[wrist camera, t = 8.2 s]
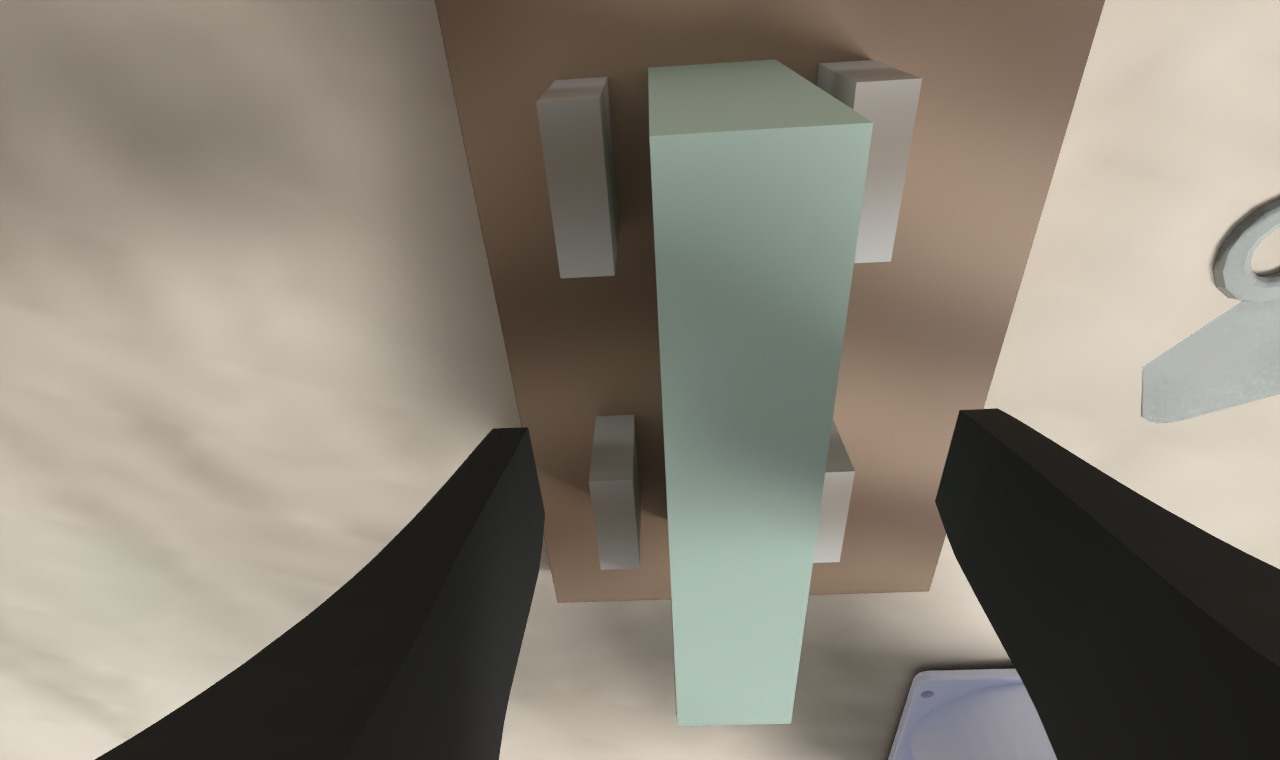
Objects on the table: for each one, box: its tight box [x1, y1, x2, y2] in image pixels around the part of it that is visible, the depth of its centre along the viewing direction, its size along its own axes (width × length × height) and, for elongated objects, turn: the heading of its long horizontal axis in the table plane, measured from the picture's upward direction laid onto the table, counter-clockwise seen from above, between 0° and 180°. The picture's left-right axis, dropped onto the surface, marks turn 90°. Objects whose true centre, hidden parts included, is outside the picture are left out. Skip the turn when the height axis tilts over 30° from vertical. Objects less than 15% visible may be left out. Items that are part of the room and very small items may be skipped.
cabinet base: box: [435, 0, 1105, 603], centre depth 14 cm, size 20×12×4 cm, turn 3°
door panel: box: [648, 59, 873, 726], centre depth 12 cm, size 12×2×6 cm, turn 3°
